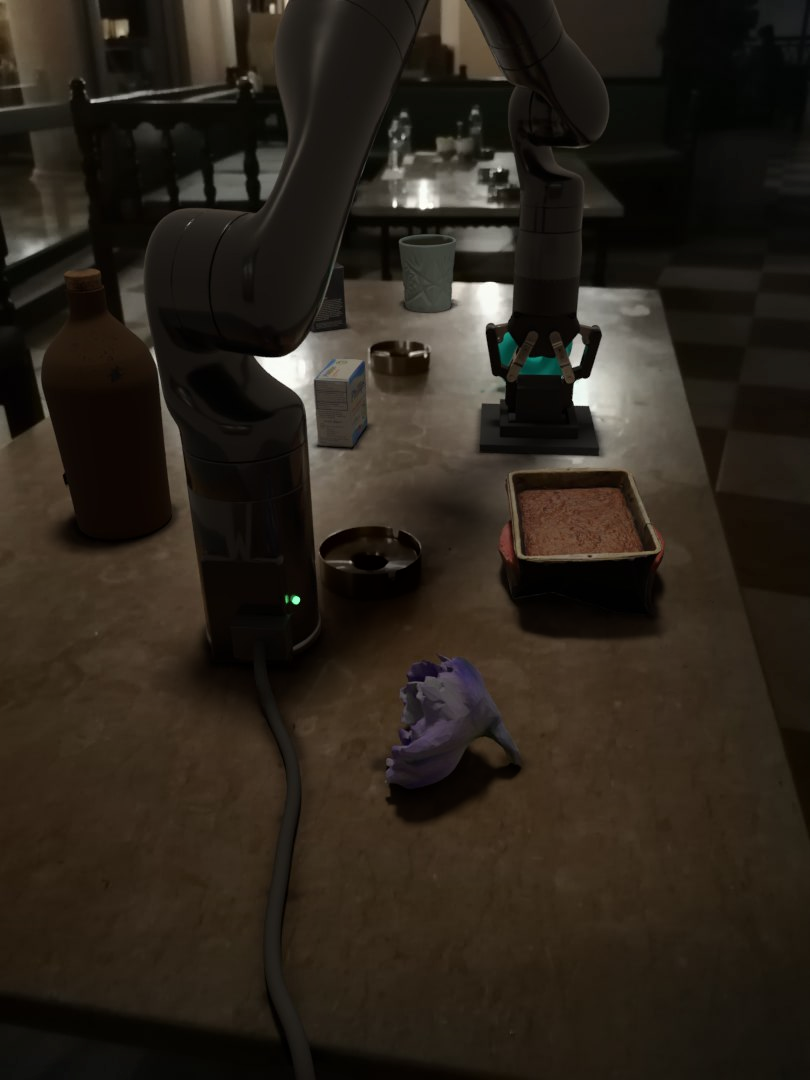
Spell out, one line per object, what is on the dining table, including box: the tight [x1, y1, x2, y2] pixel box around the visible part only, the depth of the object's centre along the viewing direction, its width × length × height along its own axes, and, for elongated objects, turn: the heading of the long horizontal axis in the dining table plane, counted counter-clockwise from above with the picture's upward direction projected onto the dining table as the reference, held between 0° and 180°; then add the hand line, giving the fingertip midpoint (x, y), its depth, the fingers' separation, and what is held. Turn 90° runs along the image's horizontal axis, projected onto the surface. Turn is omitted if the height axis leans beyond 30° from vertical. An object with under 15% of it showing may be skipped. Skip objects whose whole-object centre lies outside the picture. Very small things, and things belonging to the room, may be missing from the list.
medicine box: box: [313, 358, 368, 448], centre depth 111 cm, size 8×4×9 cm, turn 168°
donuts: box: [499, 332, 574, 383], centre depth 127 cm, size 10×10×10 cm
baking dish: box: [497, 467, 665, 616], centre depth 81 cm, size 14×18×10 cm
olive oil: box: [40, 268, 173, 541], centre depth 87 cm, size 11×11×25 cm
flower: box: [384, 652, 522, 790], centre depth 60 cm, size 9×9×10 cm
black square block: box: [515, 374, 564, 421], centre depth 111 cm, size 6×6×4 cm
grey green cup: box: [398, 233, 457, 313], centre depth 164 cm, size 10×10×12 cm
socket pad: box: [478, 398, 600, 456], centre depth 113 cm, size 14×14×2 cm
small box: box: [311, 261, 348, 333], centre depth 156 cm, size 11×6×10 cm, turn 25°
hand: (537, 408), depth 112 cm, fingers closed on black square block, 5 cm apart
